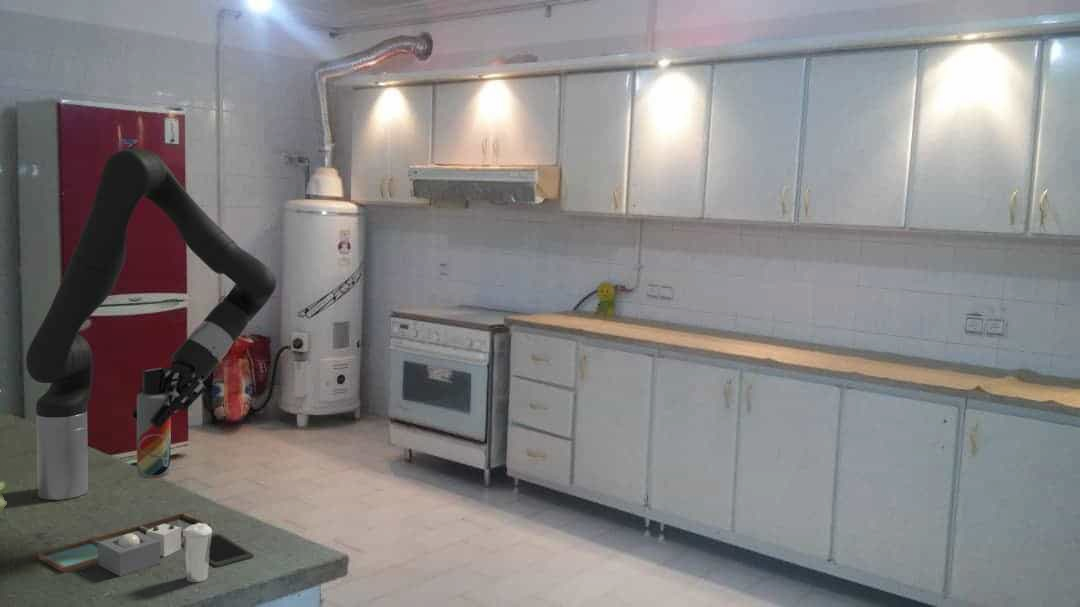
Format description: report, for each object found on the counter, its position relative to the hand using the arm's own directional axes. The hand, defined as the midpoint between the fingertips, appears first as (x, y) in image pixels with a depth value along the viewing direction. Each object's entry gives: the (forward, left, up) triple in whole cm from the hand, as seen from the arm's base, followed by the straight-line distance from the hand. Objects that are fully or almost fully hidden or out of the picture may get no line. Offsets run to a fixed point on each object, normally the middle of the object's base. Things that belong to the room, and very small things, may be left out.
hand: (144, 421), depth 160 cm
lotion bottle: (0, +2, -10) cm, 11 cm away
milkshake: (+22, -4, -22) cm, 32 cm away
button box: (+9, -8, -22) cm, 25 cm away
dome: (+9, -8, -21) cm, 24 cm away
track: (0, -3, -22) cm, 22 cm away
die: (+8, -1, -22) cm, 23 cm away
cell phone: (+15, +5, -22) cm, 27 cm away
